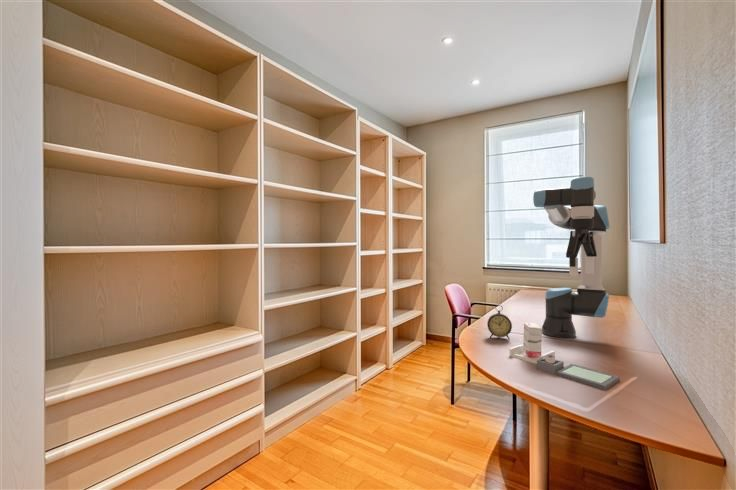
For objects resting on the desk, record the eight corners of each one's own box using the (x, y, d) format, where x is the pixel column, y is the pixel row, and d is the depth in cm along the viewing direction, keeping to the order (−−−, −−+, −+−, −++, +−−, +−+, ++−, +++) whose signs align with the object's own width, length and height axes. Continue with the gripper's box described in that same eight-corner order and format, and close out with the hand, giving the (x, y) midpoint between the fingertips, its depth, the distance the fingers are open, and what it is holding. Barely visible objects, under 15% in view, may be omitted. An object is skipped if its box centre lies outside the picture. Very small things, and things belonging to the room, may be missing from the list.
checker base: (571, 369, 126) (571, 363, 126) (619, 383, 114) (619, 376, 114) (555, 377, 119) (555, 371, 119) (604, 392, 107) (604, 385, 107)
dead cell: (547, 367, 126) (547, 353, 126) (556, 369, 123) (556, 355, 123) (543, 369, 124) (543, 355, 124) (552, 371, 121) (552, 357, 121)
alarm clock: (487, 338, 166) (487, 305, 166) (487, 335, 171) (487, 303, 171) (511, 340, 163) (511, 306, 162) (510, 337, 168) (510, 304, 168)
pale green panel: (573, 368, 124) (573, 365, 124) (612, 379, 114) (612, 376, 114) (561, 374, 118) (561, 371, 118) (601, 386, 109) (601, 383, 109)
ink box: (542, 358, 132) (542, 328, 132) (528, 358, 133) (528, 327, 133) (535, 351, 140) (535, 322, 140) (522, 350, 141) (522, 322, 141)
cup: (545, 367, 128) (545, 356, 128) (563, 372, 123) (563, 361, 123) (536, 371, 124) (536, 360, 124) (554, 377, 119) (554, 365, 119)
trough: (524, 352, 145) (524, 343, 145) (554, 361, 134) (554, 351, 134) (509, 358, 138) (509, 348, 138) (540, 367, 128) (540, 357, 128)
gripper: (585, 219, 139) (585, 271, 140) (555, 217, 125) (555, 275, 125) (606, 218, 133) (606, 273, 134) (578, 216, 119) (577, 277, 119)
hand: (581, 274), depth 129 cm, fingers open, 13 cm apart
